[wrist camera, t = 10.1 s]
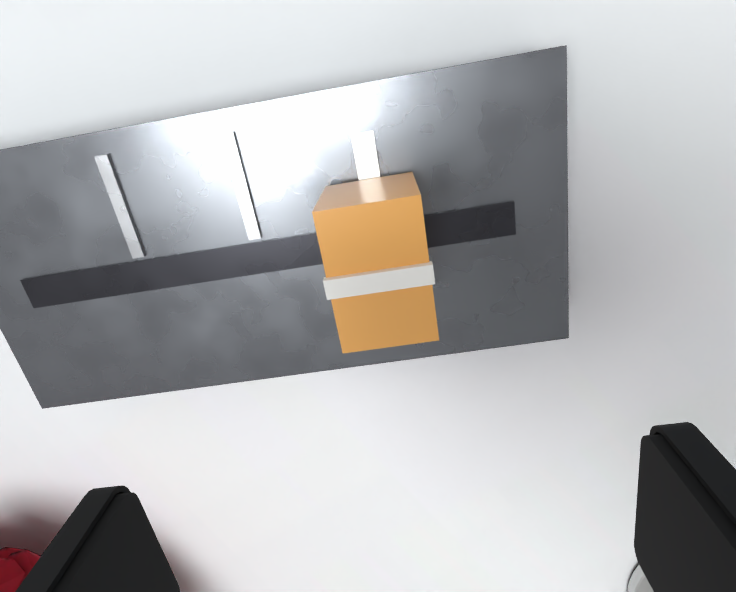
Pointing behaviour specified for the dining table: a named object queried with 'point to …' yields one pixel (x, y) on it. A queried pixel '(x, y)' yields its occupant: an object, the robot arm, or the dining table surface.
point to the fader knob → (377, 262)
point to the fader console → (280, 230)
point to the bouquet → (15, 567)
